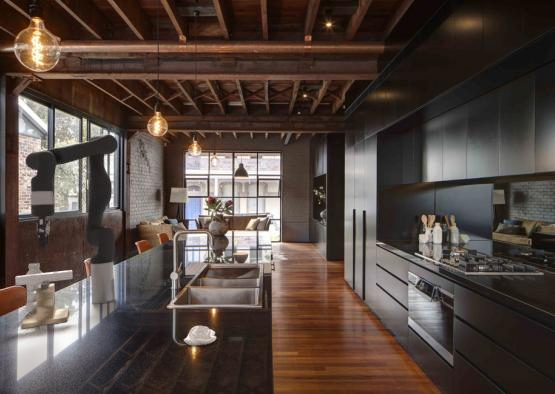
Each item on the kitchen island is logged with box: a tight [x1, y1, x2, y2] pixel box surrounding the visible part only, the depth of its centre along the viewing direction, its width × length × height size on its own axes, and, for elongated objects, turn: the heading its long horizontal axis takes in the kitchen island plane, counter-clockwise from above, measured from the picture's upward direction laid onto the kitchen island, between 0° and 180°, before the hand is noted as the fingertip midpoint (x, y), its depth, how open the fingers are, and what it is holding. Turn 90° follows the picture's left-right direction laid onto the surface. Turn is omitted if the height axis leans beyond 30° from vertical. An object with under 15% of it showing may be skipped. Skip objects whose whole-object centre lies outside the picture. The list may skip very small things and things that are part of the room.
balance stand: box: [20, 282, 70, 330], centre depth 138 cm, size 14×14×14 cm
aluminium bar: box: [14, 269, 73, 286], centre depth 138 cm, size 18×3×3 cm, turn 118°
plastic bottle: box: [25, 262, 43, 314], centre depth 149 cm, size 6×7×20 cm
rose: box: [183, 325, 217, 346], centre depth 111 cm, size 10×4×10 cm
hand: (44, 246), depth 139 cm, fingers open, 8 cm apart
